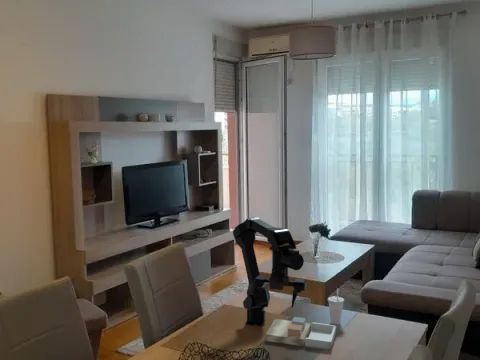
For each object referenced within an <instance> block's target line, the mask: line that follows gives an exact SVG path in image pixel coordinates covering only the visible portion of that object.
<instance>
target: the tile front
mask: <svg viewBox="0 0 480 360" xmlns="http://www.w3.org/2000/svg"><path fill="white" fill-rule="evenodd" d="M301 334H302V325H296V324H290V325H289V327H288V335H290V336H297V337H300V336H301Z"/></svg>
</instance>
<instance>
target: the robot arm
mask: <svg viewBox="0 0 480 360" xmlns="http://www.w3.org/2000/svg"><path fill="white" fill-rule="evenodd" d="M256 234H260V235H261V236H263V237H265V238H266V241H267V242H268V243H269V244H270V245H271V246H269V248H268V250H270V251H271V255H272V257H271V258H272V259H271V261H272V262H271V273H270V276H269V278H268V276H267V275H260V270H259V266H258V261H257V256H256V252H255V247H254V244H255V241H256ZM232 235H233V238H234V240H235V243H236V244H237V246H238V247H239V248H240V249H241V252H242V258H243V263H244V267H245V272H246V276H247V282H248V286H247V290H246V297H245V299H244V300H243V301H242V304H243V308H244V309H246V321H245V325H250V326H257V327H258V326H259V327H261V326H263V324H264V323H265V322H266V314H267V313H266V312H267V311H266V310H265V308H269V304H270V299H271V295H270V292H269V290H276V291H277V290H278V291H282V290H284V287H292V288H293V290H292V299H291V308H294V306H295V303H296V301H297V298H298V295H299V294H300V293H302V292H303V291H306V289H307V288H308V287H307V286H308V282H307V279H306V278H297V277H296V278H295V280H290V277H289V269H290V270H294V271H299V270H301V269H302V268H303V266H304V265H305V259H304V256H303V255H302V254H300V250H298V249H297V245H296V241H295V240H294V238H293V236H292V233H291V232H290V230H289V229H287V228H284V227H275V226H273V225H271V224H269V223H267V222H265V221H264V220H262V219H260V217H256V216H255V217H253V216H252V217H248V218H246V219H245V220H244V221H243V222H241V223H239V224H237V226H235V227H234V229H232Z"/></svg>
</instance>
